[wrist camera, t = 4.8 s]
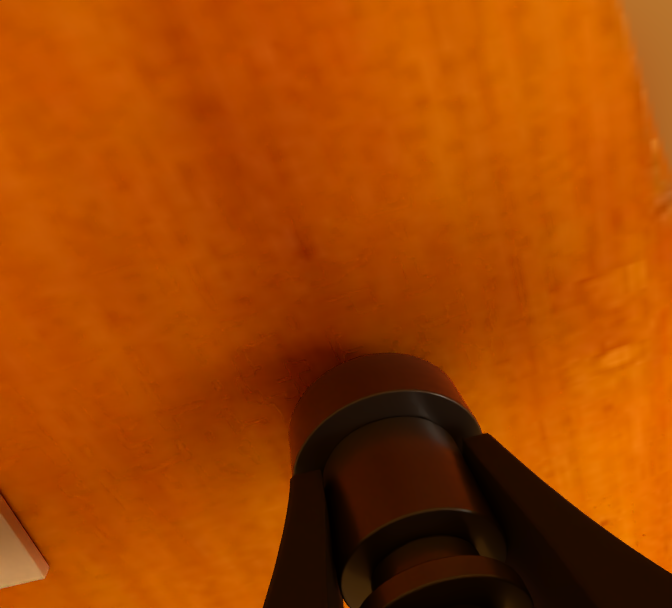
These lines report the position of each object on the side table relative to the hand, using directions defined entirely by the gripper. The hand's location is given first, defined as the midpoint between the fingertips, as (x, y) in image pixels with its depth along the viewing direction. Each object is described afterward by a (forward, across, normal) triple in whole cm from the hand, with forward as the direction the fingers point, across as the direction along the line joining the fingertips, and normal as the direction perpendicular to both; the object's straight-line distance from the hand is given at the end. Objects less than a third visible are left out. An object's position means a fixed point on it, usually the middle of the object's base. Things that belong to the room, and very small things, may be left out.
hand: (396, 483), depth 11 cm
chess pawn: (+2, 0, 0) cm, 2 cm away
